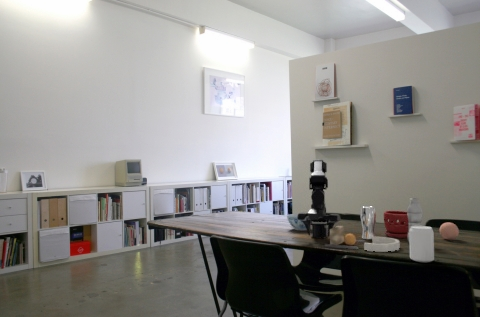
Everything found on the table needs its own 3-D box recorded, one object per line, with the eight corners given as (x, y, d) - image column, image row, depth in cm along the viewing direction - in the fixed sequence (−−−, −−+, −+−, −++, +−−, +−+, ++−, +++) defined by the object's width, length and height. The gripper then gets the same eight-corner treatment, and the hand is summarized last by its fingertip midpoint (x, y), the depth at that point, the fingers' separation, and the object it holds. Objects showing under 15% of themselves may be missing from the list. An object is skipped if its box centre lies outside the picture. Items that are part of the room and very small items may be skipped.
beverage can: (405, 258, 148) (404, 225, 149) (426, 257, 149) (425, 225, 149) (417, 263, 140) (416, 229, 141) (438, 262, 141) (438, 228, 141)
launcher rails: (324, 246, 171) (324, 244, 171) (334, 240, 185) (334, 238, 185) (357, 249, 165) (357, 247, 165) (365, 242, 179) (365, 240, 179)
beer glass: (377, 239, 186) (376, 207, 186) (361, 239, 187) (361, 207, 187) (375, 237, 192) (374, 206, 193) (360, 236, 194) (359, 206, 194)
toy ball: (458, 238, 186) (457, 221, 186) (459, 241, 179) (459, 224, 179) (439, 237, 189) (438, 221, 189) (439, 240, 182) (439, 223, 182)
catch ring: (364, 250, 162) (363, 243, 162) (372, 242, 178) (372, 236, 179) (396, 253, 156) (396, 245, 156) (402, 245, 173) (401, 238, 173)
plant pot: (383, 238, 190) (383, 213, 190) (384, 233, 202) (384, 210, 202) (413, 239, 185) (412, 213, 185) (412, 235, 197) (411, 210, 197)
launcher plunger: (330, 245, 172) (329, 229, 172) (337, 240, 183) (337, 225, 183) (336, 246, 171) (336, 229, 171) (344, 241, 181) (343, 226, 182)
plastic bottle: (422, 242, 177) (421, 197, 178) (424, 245, 171) (422, 199, 171) (406, 241, 179) (405, 197, 180) (407, 244, 173) (406, 198, 173)
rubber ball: (343, 245, 173) (342, 234, 173) (345, 243, 177) (345, 232, 178) (354, 246, 171) (354, 235, 171) (357, 244, 175) (357, 233, 175)
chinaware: (314, 231, 211) (314, 217, 211) (286, 231, 214) (286, 217, 214) (314, 227, 226) (314, 214, 226) (288, 227, 229) (287, 213, 229)
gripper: (292, 202, 179) (293, 237, 178) (333, 204, 170) (334, 240, 169) (301, 200, 189) (301, 233, 188) (340, 201, 179) (341, 236, 179)
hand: (318, 235), depth 181 cm, fingers open, 9 cm apart
